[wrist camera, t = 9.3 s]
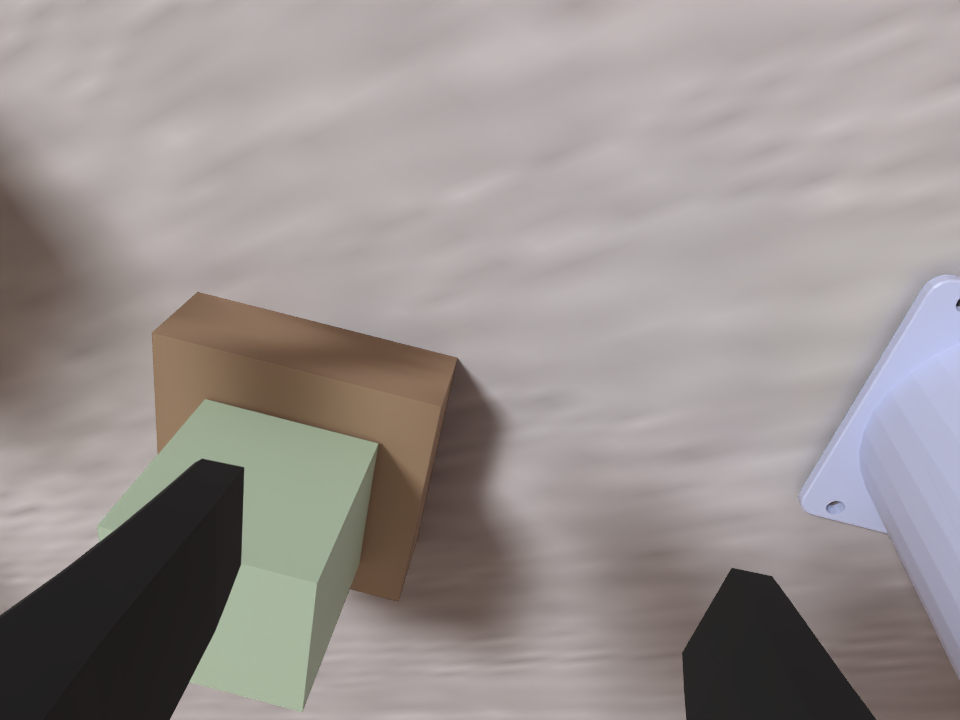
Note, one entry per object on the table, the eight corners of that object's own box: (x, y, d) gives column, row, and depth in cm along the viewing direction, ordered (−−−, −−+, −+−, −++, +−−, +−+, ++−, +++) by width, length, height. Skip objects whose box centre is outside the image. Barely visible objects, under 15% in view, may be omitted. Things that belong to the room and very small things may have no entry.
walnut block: (460, 351, 22) (441, 406, 19) (418, 535, 26) (398, 601, 23) (204, 285, 22) (151, 332, 19) (204, 480, 26) (161, 539, 23)
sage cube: (378, 443, 20) (317, 583, 16) (359, 564, 22) (302, 712, 18) (205, 398, 20) (97, 526, 16) (206, 524, 23) (114, 662, 18)
